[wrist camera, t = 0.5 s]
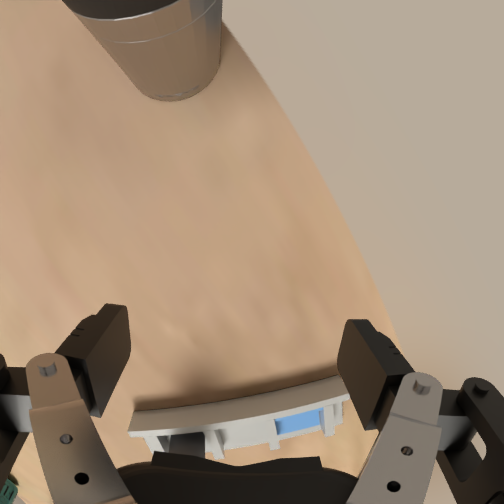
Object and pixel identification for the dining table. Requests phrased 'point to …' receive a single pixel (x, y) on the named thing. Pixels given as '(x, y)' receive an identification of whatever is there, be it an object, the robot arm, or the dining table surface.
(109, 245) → the dining table surface
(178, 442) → the gray cylinder
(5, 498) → the beverage bottle
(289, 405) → the grey slotted rack
